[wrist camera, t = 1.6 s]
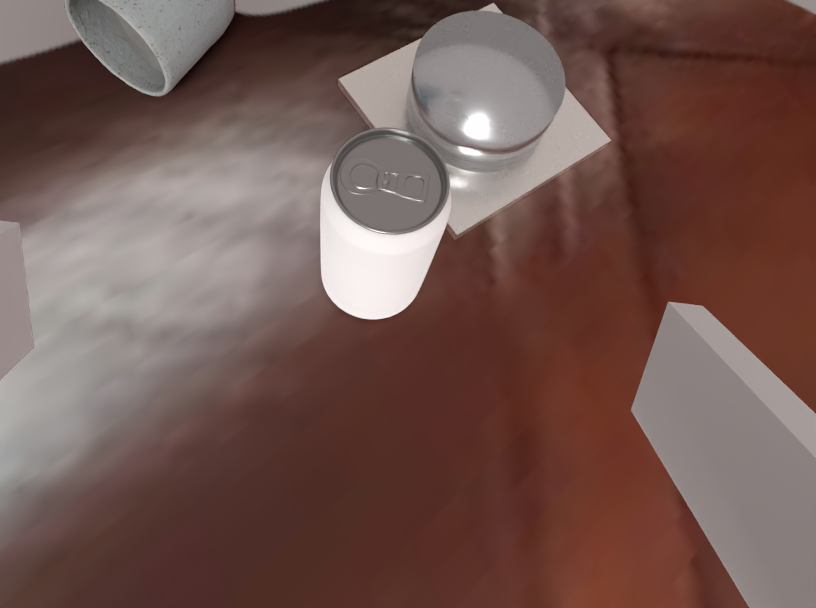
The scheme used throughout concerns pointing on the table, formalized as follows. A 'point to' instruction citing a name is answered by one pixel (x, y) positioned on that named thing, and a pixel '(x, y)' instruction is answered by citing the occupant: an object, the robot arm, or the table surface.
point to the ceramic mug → (149, 36)
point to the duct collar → (480, 109)
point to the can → (381, 220)
